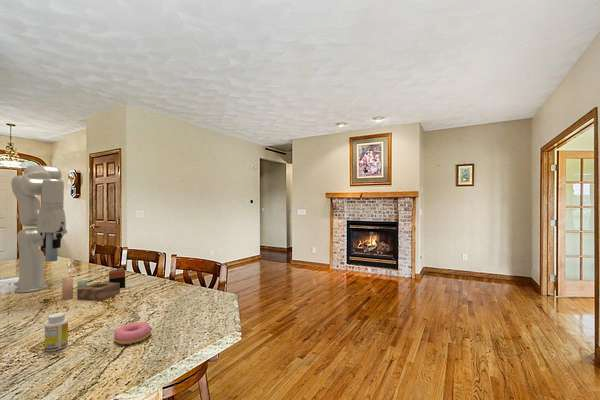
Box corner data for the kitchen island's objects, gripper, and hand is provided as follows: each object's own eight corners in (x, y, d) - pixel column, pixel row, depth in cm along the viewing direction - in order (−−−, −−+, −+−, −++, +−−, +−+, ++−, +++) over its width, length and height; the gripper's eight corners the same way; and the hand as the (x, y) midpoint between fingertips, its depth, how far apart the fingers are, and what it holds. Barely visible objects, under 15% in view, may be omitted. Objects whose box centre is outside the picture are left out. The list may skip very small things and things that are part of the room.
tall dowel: (43, 261, 128) (43, 229, 128) (51, 259, 132) (52, 228, 132) (51, 261, 127) (51, 229, 127) (59, 260, 131) (60, 228, 131)
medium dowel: (59, 299, 135) (59, 280, 135) (67, 296, 139) (67, 277, 139) (67, 300, 135) (67, 280, 135) (75, 297, 139) (75, 278, 139)
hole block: (77, 299, 135) (77, 288, 135) (98, 291, 147) (98, 281, 147) (100, 300, 134) (100, 289, 134) (119, 292, 146) (119, 282, 146)
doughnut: (135, 348, 91) (135, 334, 91) (104, 345, 93) (105, 331, 93) (158, 333, 102) (158, 321, 102) (130, 330, 104) (130, 318, 104)
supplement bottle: (65, 341, 94) (65, 310, 95) (69, 347, 91) (70, 314, 91) (42, 348, 90) (43, 315, 90) (46, 354, 87) (46, 319, 87)
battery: (125, 287, 155) (125, 268, 155) (110, 289, 151) (110, 270, 151) (123, 285, 159) (123, 267, 159) (108, 288, 154) (108, 269, 154)
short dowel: (75, 294, 143) (75, 282, 143) (82, 291, 147) (82, 279, 147) (82, 294, 143) (82, 282, 143) (89, 292, 147) (89, 280, 147)
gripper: (27, 206, 127) (26, 248, 127) (61, 207, 125) (60, 250, 125) (44, 206, 134) (43, 246, 134) (76, 206, 132) (76, 247, 132)
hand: (51, 247), depth 129 cm, fingers closed on tall dowel, 4 cm apart
